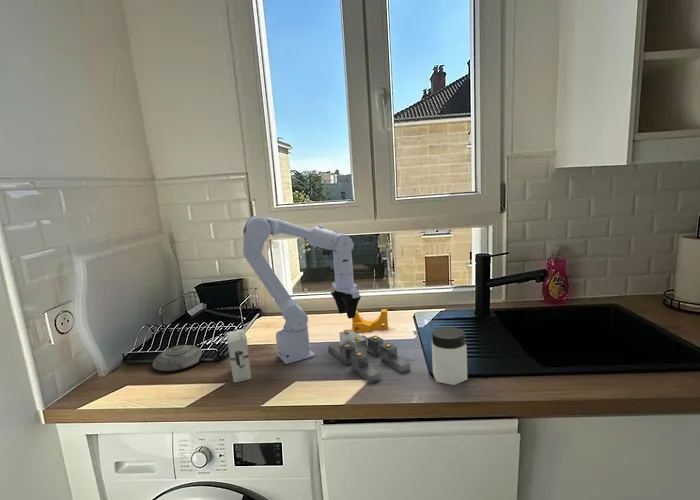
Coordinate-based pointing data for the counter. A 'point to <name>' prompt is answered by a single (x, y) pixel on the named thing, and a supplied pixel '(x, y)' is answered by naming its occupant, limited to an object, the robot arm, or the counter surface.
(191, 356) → the flying saucer
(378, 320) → the pipe clamp
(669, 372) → the counter surface
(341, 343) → the block with brass knobs
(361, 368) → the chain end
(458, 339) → the jar
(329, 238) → the robot arm
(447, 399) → the counter surface
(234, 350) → the ink box
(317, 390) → the counter surface
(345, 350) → the chain end
